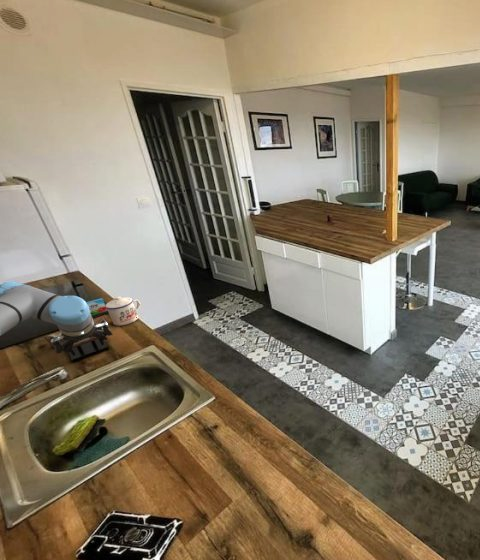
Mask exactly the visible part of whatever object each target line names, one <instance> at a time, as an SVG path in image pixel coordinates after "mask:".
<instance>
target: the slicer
mask: <svg viewBox="0 0 480 560" xmlns="http://www.w3.org/2000/svg"><path fill="white" fill-rule="evenodd" d="M88 338H90V337H88ZM77 342H79V341H77ZM103 342H104V345H101V343H100V341H99V339H97V340H94V341H91V342H89V343H86V344H83V345H80V346H77V347H74V348H73V350H74V352H75V354H76V355H74V356H73V355H72V353H71V352H68V354H69V357H70V359H71V361H72V363H76V362H79V361H81V360H84V359H88V358H89V357H93V356H95V355H98V354H100V353H103V352H105V351H108V350H110V348H109V346H108V344H107V342H106V340H103Z"/></svg>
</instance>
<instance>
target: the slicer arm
mask: <svg viewBox="0 0 480 560" xmlns="http://www.w3.org/2000/svg"><path fill="white" fill-rule="evenodd" d="M97 339H99V338H98V337H90V338H89V337H88V338H86V339H84V340H79V341H78V342H77V343H74V344H73V346H72V348H74V347H77V346H80V345H83V344H86V343H89V342H91V341H94V340H97Z"/></svg>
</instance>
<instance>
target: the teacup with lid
mask: <svg viewBox="0 0 480 560" xmlns="http://www.w3.org/2000/svg"><path fill="white" fill-rule="evenodd" d="M135 302H136V304H137V305H136V306H135V304H134V303H135ZM105 305H106V309H107V312H108V315H109V317H110V319H111V321H112V324H113V325H114V326H118V327H119V326H127V325H130V324H132V323H134V322H136V321H137V320H138V319H139V315H138V310H139V309H140V308H141V302H140V300H139V299H133V298H131V297H127V296H126V297H125V296H124V297H121V296H119V295H118V296H117V295H116V296H114V298H113V299H112V300H110V301H108V302H107V303H106V304H105ZM136 317H137V318H136Z"/></svg>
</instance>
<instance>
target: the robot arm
mask: <svg viewBox="0 0 480 560" xmlns="http://www.w3.org/2000/svg"><path fill="white" fill-rule="evenodd" d="M86 302H87V301H86V300H85V299H83V298H81V297H79V296H77V295H59V294H55V293H53V292H49V291H47V290H43V289H40V288H37V287H35V286H32V285H29V284H24V283H20V282H17V281H6V282H3V283H1V284H0V337H1V336H3V335H4V334H5V333H8V331H10V330H12V329H13V328H15V327H17V326H18V325H19V324H21V323H23V322H24V321H26V320H28V319H29V318H32V319H35V320H39V321H44V322H46V323H49V324H53V325H56V327H57V328H58V329H59V331H61V333H62V334H61V336H60V337H51V338H49V339H50V341H51V343H52V345H53V346H52V347H53V349H54V352H55V353H56V354H57V355H60V354H61V353H62V352H64V353H65V354H69V352H71V353H72V355H73V356H74V355H76V354H75V352H74V350H73V348H72V346H73V344H74V343H77V341H78V342H79V341H82V340H84V339H87V338H89V337H98V338H99V341H100V343H101V345H104V342H103V340H104V341H106V340H108V337H109V336H112V335H113V332H112V330H111V328H110V326H109V324H108V321H107V322H106V320H104V321H101V323H99V324H94V321H93V319H94V318H93V315H92V316H91V313H90V307H89V306H88V305H87V303H86ZM107 336H108V337H107ZM62 340H65V341H64V342H63V343H61V341H62ZM61 345H62V346H61Z"/></svg>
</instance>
